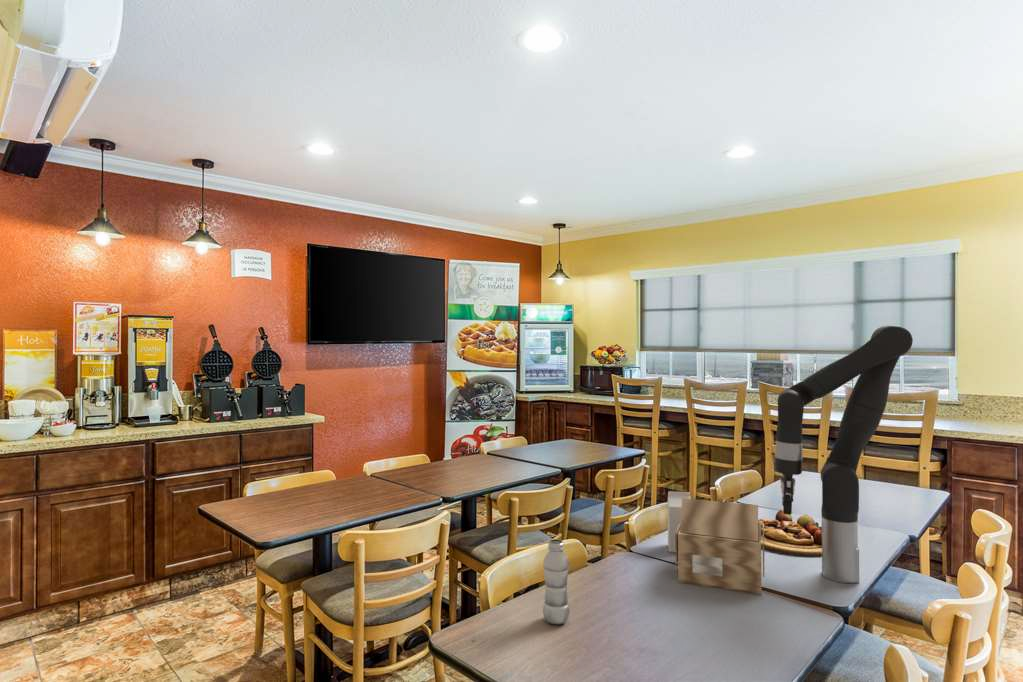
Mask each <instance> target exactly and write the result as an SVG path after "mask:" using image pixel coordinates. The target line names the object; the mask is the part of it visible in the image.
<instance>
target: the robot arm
mask: <svg viewBox="0 0 1023 682" xmlns="http://www.w3.org/2000/svg"><path fill="white" fill-rule="evenodd" d="M912 345H913V335H912V334H911V331H909V329H907V328H905V326H904V327H903V326H902V325H897V324H886V325H882V326H880V327H878V328H876V329H875V330H874V331H873V333H872V335H871V336H870V339H869V340H868V341H867V342H866V343H864V344H863V345H862V346H860V347H859V348H858V349H856V350H854V351H853V352H851V353H849V354H847V355H845V356H843V357H841V358H839V359H837V360H835V361H833V362H831V363H829V364H827V365H825V366H823V367H822V368H820V369H818V370H817V371H815V372H813V373H812V374H811V375H809V376H808V377H806V378H805V379H804V380H801V381H800V382H797V383H796V384H793V385H791V386H790V387H788V388H787V389H784V390H782V391H781V392H780V393H779V394H778V396H777V426H776V436H775V438H776V439H775V440H776V441H775V445H774V446H775V447H774V471H775V472H776V473H778V474H782V476H780V479H779V482H780V489H781V491H780V492H781V494H782V496H781V497H782V498H781V499H782V502H781V504H782V509H783V513H784V514H787V515H791V516H792V510H793V508H792V507H793V502H794V496H795V486H796V478H795V477H793V476H795V475H796V476H798V475H801V474H802V473H803V455H804V453H803V450H804V449H803V421H804V409H805V406H807V405H809V404H810V403H812V402H813V401H815V400H818V399H821V398H824V397H826V396H827V395H829V394H831V393H832V392H834V391H836V390H837V389H839V388H841V387H842V386H844V385H845V384H846V383H849V382H850V381H852V380H853V379H854V378H857V377H858V378H857V379H856V382H855V384H854V386H853V389H852V391H851V393H850V395H849V397H848V400H847V403H846V405H845V408H844V411H843V414H842V417H841V420H840V424H839V427H838V431H837V436H836V438H835V442H834V445H833V447H832V449H831V451H830V453H829V455H828V456H827V458H826V461H825V462H824V464H823V466H822V467H821V471H820V480H821V486H822V487H821V492H822V493H821V497H822V499H821V510H820V511H821V527H822V556H821V575H822V577H824V578H825V579H828V580H831V581H833V582H838V583H845V584H850V583H851V584H852V583H859V584H860V549H859V545H858V543H859V535H858V534H859V529H858V528H859V524H858V523H859V521H858V519H859V517H858V516H859V510H860V482H859V476H858V475H857V470H858V466H859V462H860V459H861V456H862V454H863V451H864V449H865V447H866V445H867V444H868V443H869V441H870V440H871V438H873V436H874V434H875V432H876V431H877V429H878V427H879V425H880V423H881V420H882V418H883V415H884V413H885V409H886V408H887V407H886V406H887V403H888V398H889V393H890V384H891V383H890V382H891V378H892V375H893V373H894V370H895V368H896V365H897V363H898V361H899V360H900V357H902V356H904V355H906V354H907V353H908V352H909V351H910V349H911V348H912Z"/></svg>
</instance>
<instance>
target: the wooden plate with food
mask: <svg viewBox="0 0 1023 682" xmlns="http://www.w3.org/2000/svg"><path fill="white" fill-rule="evenodd" d="M774 518H775V519H767V518H760V519H759V518H758V521H759V522H761V549H763V523H764V550H766V551H769V552H773V553H778V554H783V555H787V556H794V557H795V556H796V557H807V558H814V557H815V558H816V557H818V558H819V557H821V558H822V526H819V525H820V524H819V522H818V521H817V522H816V521H815V519H813V517H811V516H810V515H809V514H807V513H806V514H803V515H802V516H801V515H800V516H799V517H798V518H797V519H796V521H793V517H792V514H791V515H787V514H784V513H783V508H781V509H780V510H778V511H777V512H776V514H775V517H774Z"/></svg>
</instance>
